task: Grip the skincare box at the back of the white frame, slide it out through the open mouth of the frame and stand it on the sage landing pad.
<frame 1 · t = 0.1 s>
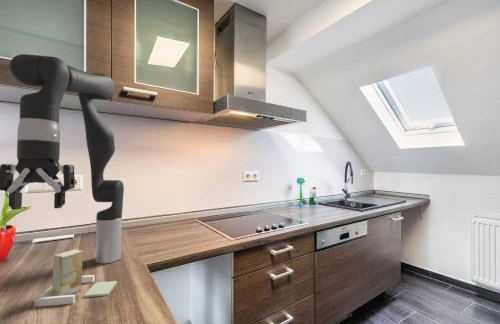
hand: (37, 208, 56), 29 cm above the worktop, tool pointing down, fingers open, 8 cm apart
landing pad: (101, 289, 75), on the worktop
white frame: (75, 291, 73), on the worktop
skincare box: (67, 293, 73), on the worktop
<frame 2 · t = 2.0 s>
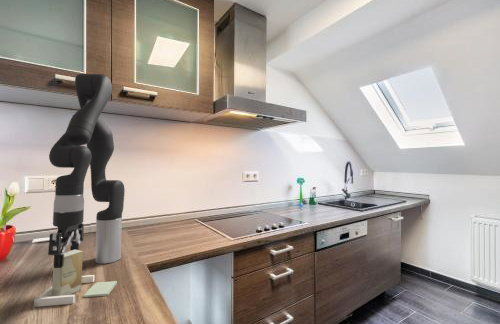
hand: (66, 261, 73), 9 cm above the worktop, tool pointing down, fingers open, 8 cm apart
nothing on the worktop moved.
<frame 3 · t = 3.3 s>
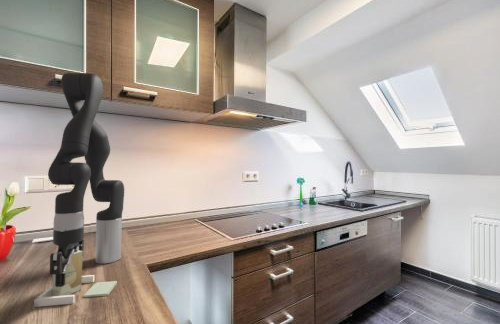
hand: (67, 279, 73), 4 cm above the worktop, tool pointing down, fingers closed on skincare box, 7 cm apart
skincare box: (67, 293, 73), on the worktop, touching gripper
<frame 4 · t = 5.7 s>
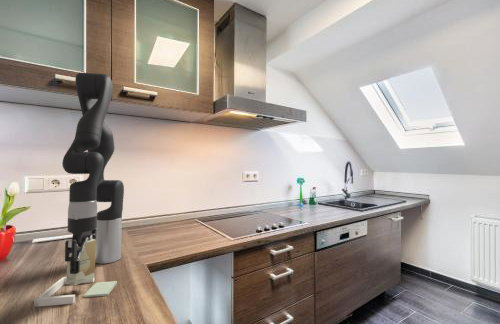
hand: (81, 267, 74), 7 cm above the worktop, tool pointing down, fingers closed on skincare box, 7 cm apart
skincare box: (81, 280, 74), point 3 cm above the worktop, touching gripper
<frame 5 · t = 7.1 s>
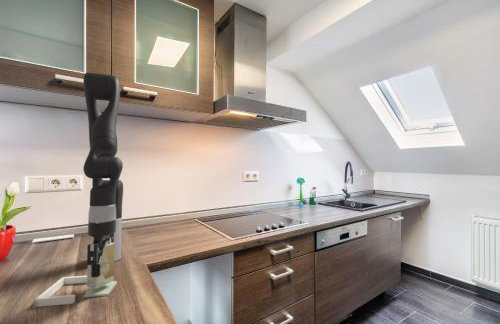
hand: (101, 270, 75), 6 cm above the worktop, tool pointing down, fingers closed on skincare box, 7 cm apart
skincare box: (101, 284, 75), point 2 cm above the worktop, touching gripper
when the fingers open (5 cm above the worktop, at t = 8.2 s): skincare box stays where it is, resting on landing pad.
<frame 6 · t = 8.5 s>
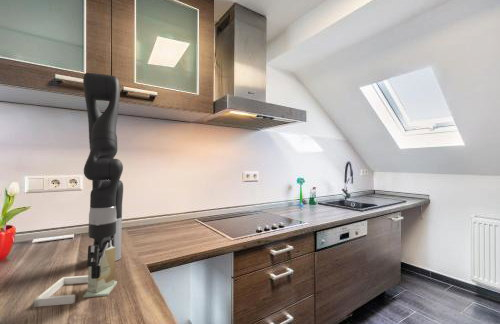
hand: (101, 271, 75), 6 cm above the worktop, tool pointing down, fingers open, 8 cm apart
skincare box: (101, 287, 75), resting on landing pad, touching gripper
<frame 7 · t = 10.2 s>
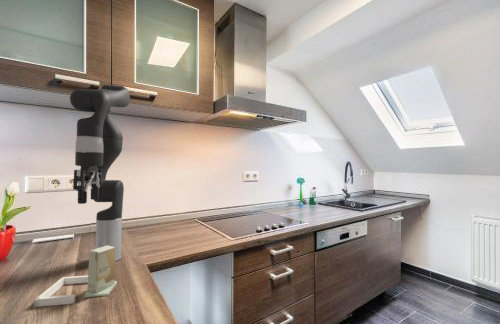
hand: (88, 201, 76), 28 cm above the worktop, tool pointing down, fingers open, 8 cm apart
skincare box: (101, 287, 75), resting on landing pad
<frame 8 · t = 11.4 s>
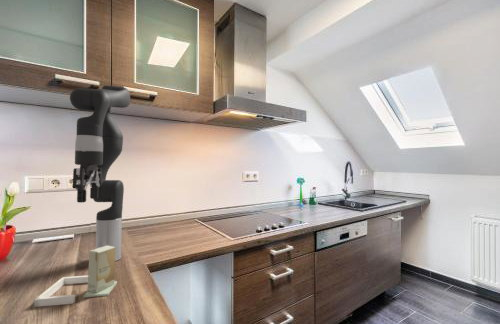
hand: (88, 200, 76), 28 cm above the worktop, tool pointing down, fingers open, 8 cm apart
nothing on the worktop moved.
at the end: skincare box inside the target area (0.5 cm from its centre), resting on landing pad; skincare box tilted 0°; the gripper is holding nothing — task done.
